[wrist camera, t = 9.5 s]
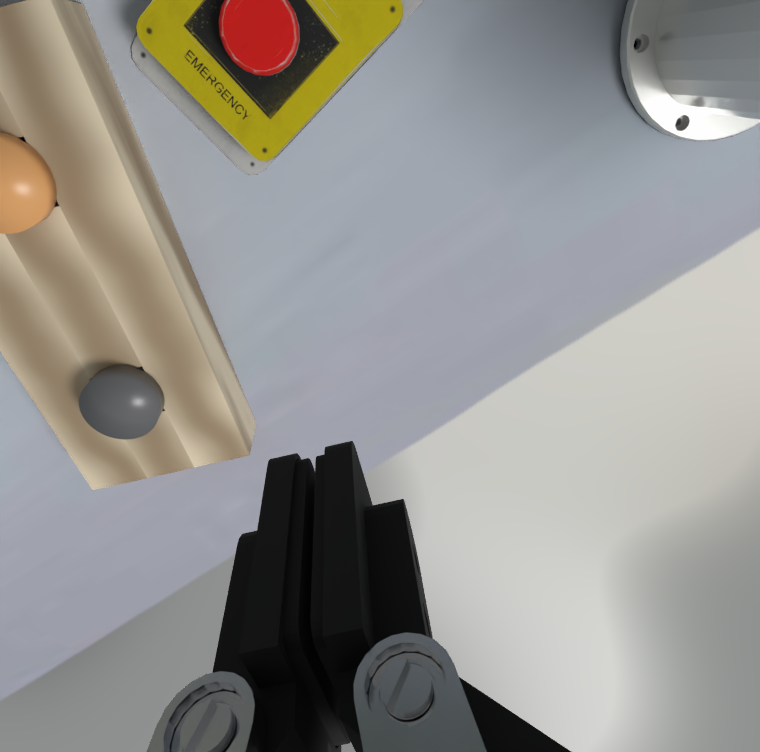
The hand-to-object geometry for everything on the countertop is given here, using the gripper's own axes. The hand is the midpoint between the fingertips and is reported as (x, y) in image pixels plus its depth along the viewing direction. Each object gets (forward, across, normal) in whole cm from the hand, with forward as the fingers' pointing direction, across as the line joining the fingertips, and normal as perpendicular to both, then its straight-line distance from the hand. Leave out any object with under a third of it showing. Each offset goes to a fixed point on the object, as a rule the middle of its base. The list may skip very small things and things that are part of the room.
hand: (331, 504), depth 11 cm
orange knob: (+27, +16, -6) cm, 32 cm away
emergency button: (+28, 0, -10) cm, 30 cm away
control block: (+27, +16, +1) cm, 31 cm away
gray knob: (+27, +16, +8) cm, 32 cm away
